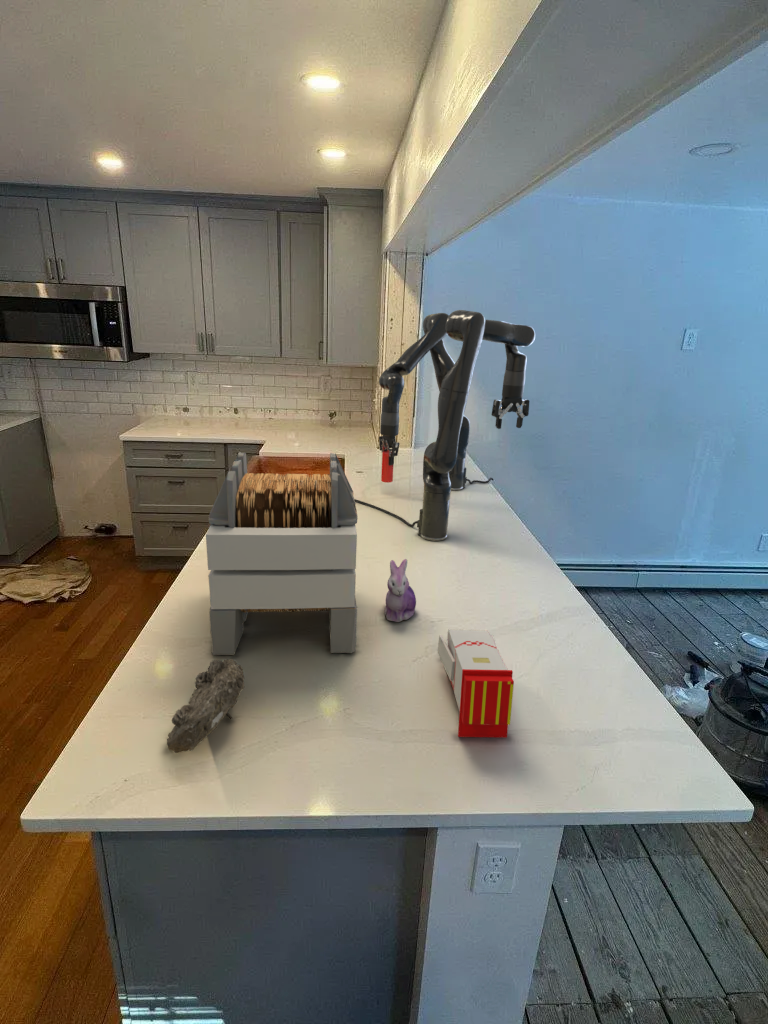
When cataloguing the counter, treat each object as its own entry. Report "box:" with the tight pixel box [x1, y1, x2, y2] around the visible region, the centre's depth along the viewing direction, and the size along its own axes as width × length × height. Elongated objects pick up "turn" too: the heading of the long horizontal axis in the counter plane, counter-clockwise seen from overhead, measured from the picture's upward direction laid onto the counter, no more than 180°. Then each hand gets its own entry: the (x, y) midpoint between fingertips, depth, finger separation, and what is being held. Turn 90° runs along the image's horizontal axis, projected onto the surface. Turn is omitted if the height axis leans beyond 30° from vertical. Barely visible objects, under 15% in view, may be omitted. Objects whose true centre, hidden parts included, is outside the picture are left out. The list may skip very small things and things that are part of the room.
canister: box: [380, 451, 395, 484], centre depth 236 cm, size 5×5×12 cm
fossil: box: [166, 658, 245, 754], centre depth 106 cm, size 22×10×15 cm
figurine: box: [384, 558, 417, 623], centre depth 145 cm, size 9×10×15 cm
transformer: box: [205, 451, 358, 657], centre depth 136 cm, size 34×33×41 cm
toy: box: [437, 628, 515, 738], centre depth 117 cm, size 12×13×30 cm
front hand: (508, 428), depth 209 cm, fingers open, 8 cm apart
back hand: (387, 463), depth 235 cm, fingers closed on canister, 5 cm apart
